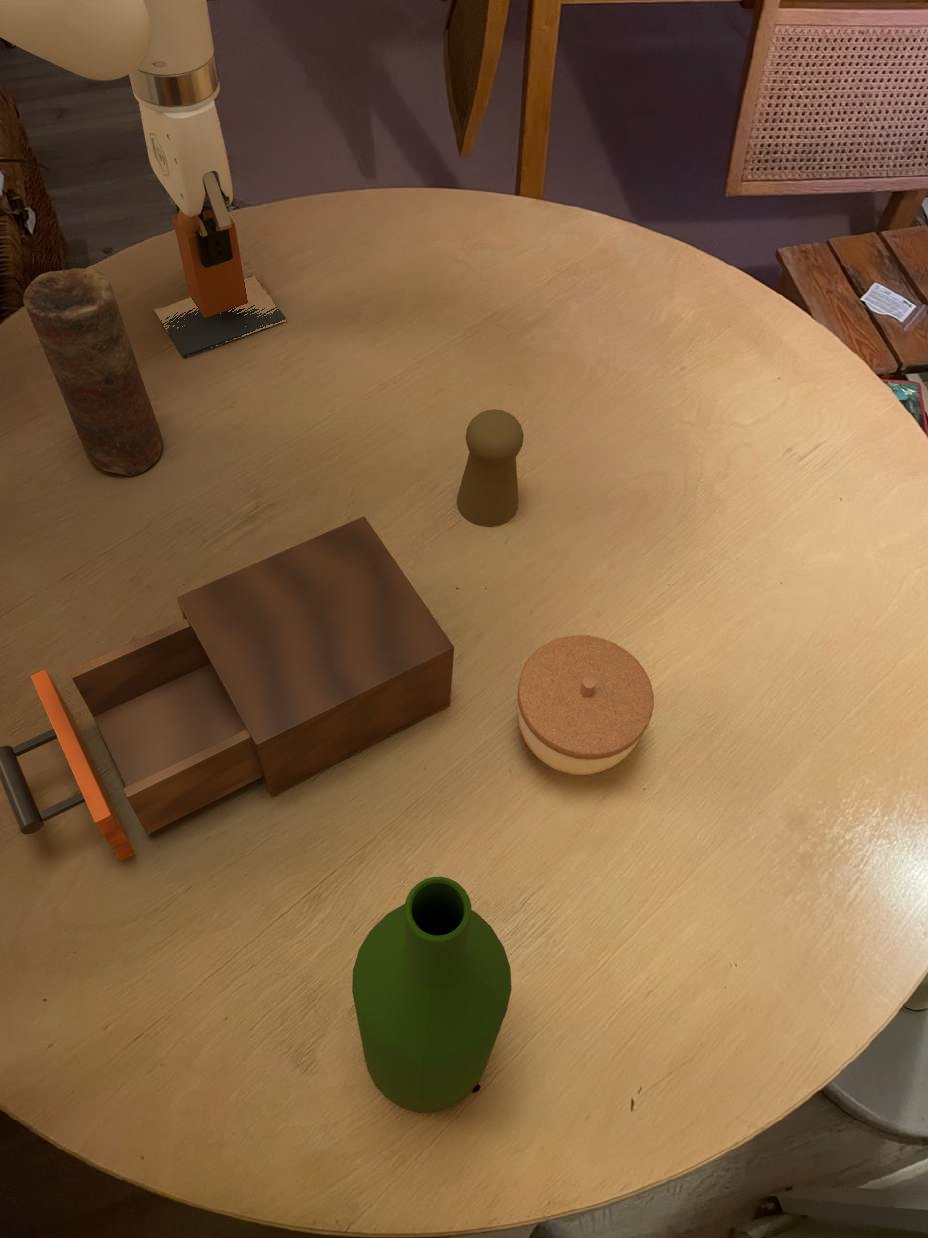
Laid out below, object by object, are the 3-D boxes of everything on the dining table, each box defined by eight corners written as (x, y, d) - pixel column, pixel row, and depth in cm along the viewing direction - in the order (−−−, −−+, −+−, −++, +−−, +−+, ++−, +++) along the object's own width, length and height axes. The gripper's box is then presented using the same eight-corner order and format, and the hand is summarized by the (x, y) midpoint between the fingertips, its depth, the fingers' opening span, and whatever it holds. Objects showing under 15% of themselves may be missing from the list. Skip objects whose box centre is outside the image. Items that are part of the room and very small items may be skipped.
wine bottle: (477, 972, 77) (517, 802, 50) (498, 1102, 72) (554, 995, 45) (357, 990, 76) (330, 826, 48) (371, 1123, 71) (348, 1026, 44)
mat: (183, 358, 109) (182, 355, 109) (154, 312, 113) (153, 309, 113) (286, 321, 113) (286, 318, 113) (255, 278, 117) (254, 274, 116)
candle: (72, 468, 101) (4, 306, 84) (104, 415, 105) (45, 249, 88) (146, 485, 100) (93, 325, 83) (175, 431, 104) (130, 267, 87)
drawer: (56, 893, 78) (24, 857, 71) (-2, 750, 84) (-37, 704, 77) (304, 767, 84) (296, 723, 77) (234, 642, 90) (221, 591, 83)
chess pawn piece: (447, 486, 102) (452, 407, 93) (504, 471, 103) (514, 392, 94) (469, 533, 99) (476, 456, 90) (527, 517, 100) (540, 440, 91)
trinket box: (542, 661, 92) (555, 602, 84) (654, 713, 89) (679, 658, 81) (488, 758, 86) (496, 706, 78) (605, 817, 84) (626, 769, 76)
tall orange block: (204, 318, 109) (184, 220, 99) (189, 295, 111) (167, 197, 101) (248, 303, 111) (232, 205, 101) (232, 280, 113) (215, 182, 103)
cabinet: (271, 797, 84) (256, 745, 75) (197, 659, 90) (176, 597, 82) (450, 706, 89) (454, 647, 81) (367, 581, 95) (364, 515, 87)
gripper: (97, 35, 93) (141, 212, 108) (170, 135, 85) (207, 310, 101) (176, 15, 95) (208, 192, 110) (254, 111, 88) (277, 285, 103)
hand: (207, 246), depth 105 cm, fingers closed on tall orange block, 4 cm apart
